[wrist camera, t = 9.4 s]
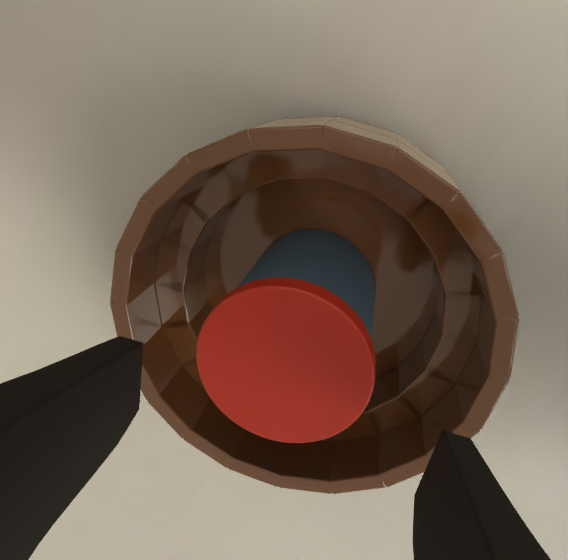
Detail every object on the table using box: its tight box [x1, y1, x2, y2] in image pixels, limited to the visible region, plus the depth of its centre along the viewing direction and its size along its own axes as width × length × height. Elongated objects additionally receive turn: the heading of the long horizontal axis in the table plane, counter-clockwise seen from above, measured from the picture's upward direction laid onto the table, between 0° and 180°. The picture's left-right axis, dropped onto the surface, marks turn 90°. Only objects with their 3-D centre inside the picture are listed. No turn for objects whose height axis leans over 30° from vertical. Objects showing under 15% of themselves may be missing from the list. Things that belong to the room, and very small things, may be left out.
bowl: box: [110, 116, 519, 494], centre depth 16 cm, size 12×12×4 cm
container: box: [196, 229, 376, 443], centre depth 15 cm, size 5×5×6 cm
